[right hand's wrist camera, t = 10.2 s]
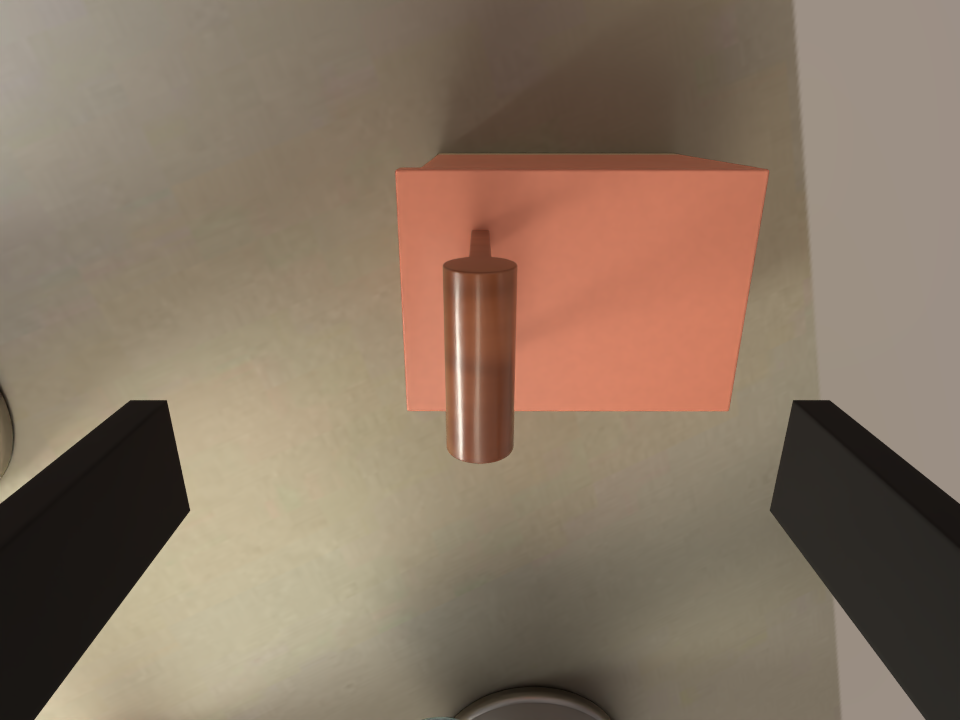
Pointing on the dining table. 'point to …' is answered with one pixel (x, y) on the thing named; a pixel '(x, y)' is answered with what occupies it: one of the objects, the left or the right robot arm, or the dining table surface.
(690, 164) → the chest
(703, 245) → the lid
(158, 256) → the dining table surface
